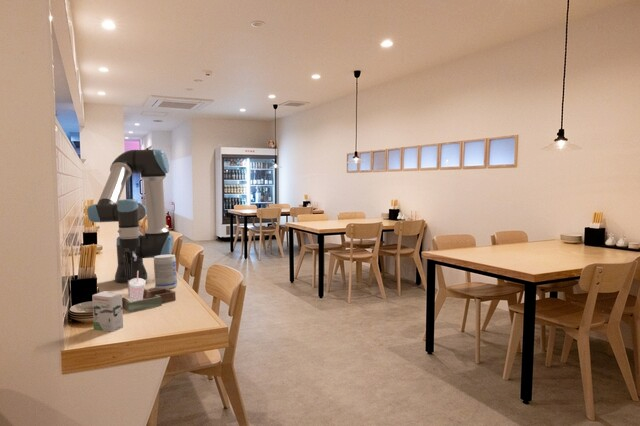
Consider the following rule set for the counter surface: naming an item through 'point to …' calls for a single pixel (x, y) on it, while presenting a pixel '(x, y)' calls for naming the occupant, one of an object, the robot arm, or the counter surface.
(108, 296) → the ink box
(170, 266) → the supplement tub
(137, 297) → the beverage cup
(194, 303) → the counter surface
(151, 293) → the divided tray
